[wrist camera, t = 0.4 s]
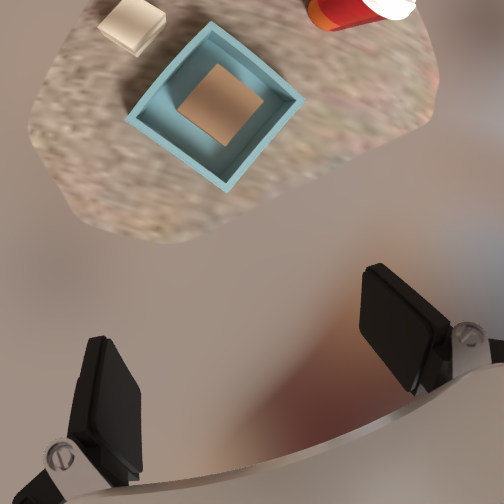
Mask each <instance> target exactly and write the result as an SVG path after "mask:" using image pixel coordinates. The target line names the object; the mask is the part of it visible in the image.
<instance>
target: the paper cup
mask: <svg viewBox="0 0 504 504" xmlns="http://www.w3.org/2000/svg"><path fill="white" fill-rule="evenodd" d="M415 1H416V0H311V1H310V3H309V5H308V15H309V17H310V19H311V21H312V22H313V23H314V24H315V25H316V26H317V27H319V28H320V29H322V30H325V31H338V30H343V29H347V28H351V27H355V26H359V25H363V24H367V23H371V22H376V21H380V20H385V19H392V20H400V19H403V18H406V17H407V16H408V15H409V14H410V13H411V11H413V9H414V8H415V6H416V4H415Z"/></svg>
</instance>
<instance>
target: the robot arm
mask: <svg viewBox="0 0 504 504" xmlns="http://www.w3.org/2000/svg"><path fill="white" fill-rule="evenodd" d="M359 329H360V332H361V334H362V335H363V337H364V338H365V339H366V340H367V342H368V343H369V344H370V345H371V347H372V348H373V349H374V351H375V352H376V353H377V354H378V356H379V357H380V358H381V359H382V361H383V362H384V363H385V364H386V366H387V367H388V368H389V370H390V371H391V372H392V373H393V375H394V376H395V377H396V379H397V380H398V381H399V382H400V384H401V385H402V386H403V388H404V389H405V390H406V391H407V392H409V391H410V392H411V393H412V394H413V395H414V396H415V397H416V396H417V395H419V394H421V393H423V392H424V391H427V392H428V394H426V395H425V396H423V397H421V398H419V399H417V400H415V401H413V402H412V403H410V404H408V405H406V406H404V407H403V408H400V409H398V410H397V411H395V412H393V413H391V414H389V415H387V416H384V417H382V418H380V419H378V420H376V421H374V422H372V423H370V424H368V425H366V426H363V427H361V428H358V429H356V430H354V431H352V432H349V433H347V434H345V435H342V436H339V437H337V438H334V439H332V440H329V441H327V442H324V443H321V444H319V445H316V446H313V447H310V448H308V449H305V450H302V451H299V452H296V453H293V454H290V455H286V456H283V457H280V458H277V459H273V460H270V461H266V462H263V463H259V464H255V465H251V466H248V467H244V468H239V469H235V470H231V471H226V472H221V473H217V474H211V475H206V476H201V477H195V478H189V479H182V480H175V481H169V482H161V483H153V484H143V485H133V486H129V482H128V481H139V473H140V472H142V470H143V463H142V440H141V439H142V438H141V392H140V389H139V387H138V385H137V383H136V381H135V380H134V378H133V377H132V375H131V373H130V372H129V370H128V368H127V367H126V365H125V363H124V361H123V360H122V358H121V356H120V354H119V353H118V351H117V349H116V347H115V345H114V344H113V341H112V340H111V339H107V338H106V337H105V336H98V337H93V338H90V339H89V340H88V343H87V347H86V351H85V356H84V359H83V364H82V368H81V373H80V377H79V378H78V380H77V384H76V389H75V393H74V398H73V404H72V409H71V414H70V420H69V426H68V433H67V438H58V439H55V440H54V441H52V442H51V443H50V444H49V445H48V446H47V447H46V449H45V451H44V454H43V464H44V466H45V469H44V470H43V471H42V472H41V473H39V475H37V476H36V477H35V478H34V479H33V480H32V481H31V482H30V483H28V485H26V486H25V487H24V488H23V489H22V490H21V491H20V492H18V493H17V495H16V496H15V497H14V499H13V502H12V504H504V341H503V340H495V339H488V336H487V333H486V331H485V330H484V328H482V327H481V326H480V325H478V324H476V323H474V322H468V321H466V322H460V323H458V324H456V325H455V326H454V328H453V327H452V326H450V321H449V320H448V319H447V318H446V317H444V316H443V315H442V314H441V313H440V312H439V311H438V310H437V309H435V308H434V307H433V306H432V305H431V304H430V303H429V302H427V301H426V300H425V299H424V298H423V297H422V296H421V295H419V294H418V293H417V292H416V291H415V290H413V289H412V288H411V287H410V286H409V285H408V284H407V283H405V282H404V281H403V280H402V279H401V278H399V277H398V276H397V275H396V274H395V273H393V272H392V271H391V270H390V269H388V268H387V267H386V266H385V265H384V264H382V263H378V264H375V265H371V266H369V267H367V268H366V270H365V272H363V275H362V293H361V308H360V321H359Z"/></svg>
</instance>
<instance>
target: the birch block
mask: <svg viewBox="0 0 504 504" xmlns="http://www.w3.org/2000/svg"><path fill="white" fill-rule="evenodd" d="M165 27H166V16H165V13H164V12H162V11H161V10H159V9H158V8H156V7H154V6H153V5H151V4H149V3H148V2H146V1H144V0H122V1H121V2H120V3H119V4H118V5H117V6H116V7H115V8H114V9H113V10H112V11H111V13H110V14H109V15H108V16H107V17H106V18H105V19H104V20H103V21H102V22H101V24H100V25H99V26H98V28H99V30H100V31H101V32H102V33H103V34H104V35H105V36H106V38H108V39H109V40H111V41H113V42H114V43H116V44H117V45H119V46H120V47H122V48H124V49H125V50H127V51H128V52H130V53H131V54H133V55H134V56H136V57H137V58H138V57H139V55H140V54H141V53H142V52H143V51H144V50H145V49H146V47H147V46H148V45H149V44H150V43H151V42H152V41H153V40H154V39H155V38H156V36H157V35H158V34H159V33H160V32H161V31H162V30H163V29H164V28H165Z"/></svg>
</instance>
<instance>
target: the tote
mask: <svg viewBox="0 0 504 504" xmlns="http://www.w3.org/2000/svg"><path fill="white" fill-rule="evenodd" d="M217 63H218V64H219V65H221V66H222V67H223V68H225V69H226V70H227V71H228V72H230V73H231V74H232V75H233V76H235V77H236V78H237V79H238V80H240V81H241V82H242V83H243V84H245V85H246V86H247V87H248V88H249V89H251V90H252V91H253V92H254V93H255V94H257V95H258V96H259V97H260V98H261V99H262V100H264V102H263V103H262V104H261V105H260V106H259V108H258V109H257V110H256V111H255V112H254V113H253V114H252V116H251V117H250V118H249V119H248V120H247V121H246V123H245V124H244V125H243V126H242V127H241V128H240V130H239V131H238V132H237V133H236V134H235V135H234V137H233V138H232V139H231V140H230V141H229V143H228V144H227V145H226V146H223V145H222V144H220V143H218V142H217V141H215V140H214V139H213V138H212V137H210V136H209V135H208V134H206V133H205V132H204V131H202V130H201V129H200V128H198V127H197V126H196V125H194V124H193V123H192V122H190V121H189V120H188V119H186V118H185V117H184V116H182V115H181V114H179V113H178V112H177V109H178V108H179V107H180V105H181V104H182V103H183V102H184V101H185V99H186V98H187V97H188V96H189V95H190V94H191V92H192V91H193V90H194V89H195V88H196V87H197V85H198V84H199V83H200V82H201V81H202V80H203V79H204V78H205V76H206V75H207V74H208V73H209V72H210V71H211V70H212V69H213V68H214V67H215V65H216V64H217ZM305 101H306V100H305V99H304V98H303V97H302V96H301V95H300V94H299V93H298V92H297V91H296V90H295V89H294V88H293V87H292V86H290V85H289V84H288V83H287V82H286V81H285V80H284V79H283V78H282V77H281V76H279V75H278V74H277V73H276V72H275V71H274V70H273V69H271V68H270V67H269V66H268V65H267V64H266V63H264V62H263V61H262V60H261V59H260V58H259V57H257V56H256V55H255V54H254V53H253V52H251V51H250V50H249V49H248V48H246V47H245V46H244V45H243V44H241V43H240V42H239V41H238V40H236V39H235V38H234V37H232V36H231V35H230V34H228V33H227V32H226V31H224V30H223V29H222V28H220V27H219V26H218V25H216V24H215V23H214V22H212V21H210V22H209V23H208V24H207V25H206V26H205V27H204V28H203V29H202V30H201V31H200V32H199V33H198V34H197V35H196V36H195V37H194V38H193V39H192V40H191V41H190V42H189V43H188V44H187V45H186V47H185V48H184V49H183V50H182V51H181V52H180V53H179V54H178V55H177V56H176V57H175V58H174V60H173V61H172V62H171V63H170V64H169V65H168V66H167V67H166V69H165V70H164V71H163V72H162V73H161V74H160V76H159V77H158V78H157V79H156V80H155V82H154V83H153V84H152V85H151V86H150V88H149V89H148V90H147V91H146V93H145V94H144V95H143V96H142V98H141V99H140V100H139V102H138V103H137V104H136V106H135V107H134V108H133V110H132V111H131V112H130V114H129V115H128V116H127V118H126V119H125V121H127V122H128V123H130V124H131V125H133V126H134V127H135V128H137V129H138V130H140V131H141V132H143V133H144V134H145V135H147V136H148V137H150V138H151V139H152V140H154V141H155V142H157V143H158V144H160V145H161V146H162V147H164V148H165V149H167V150H168V151H169V152H171V153H172V154H174V155H175V156H176V157H178V158H179V159H180V160H182V161H183V162H185V163H186V164H187V165H189V166H190V167H192V168H193V169H194V170H196V171H197V172H198V173H200V174H201V175H202V176H204V177H205V178H207V179H208V180H209V181H211V182H212V183H213V184H215V185H216V186H217V187H219V188H220V189H221V190H223V191H224V192H226V193H228V192H229V191H230V189H231V188H232V187H233V186H234V184H235V183H236V182H237V181H238V179H239V178H240V177H241V176H242V175H243V173H244V172H245V171H246V170H247V169H248V167H249V166H250V165H251V164H252V162H253V161H254V160H255V159H256V158H257V156H258V155H259V154H260V153H261V152H262V151H263V149H264V148H265V147H266V146H267V145H268V143H269V142H270V141H271V140H272V139H273V138H274V136H275V135H276V134H277V133H278V132H279V131H280V129H281V128H282V127H283V126H284V125H285V124H286V123H287V121H288V120H289V119H290V118H291V117H292V116H293V115H294V113H295V112H296V111H297V110H298V109H299V108H300V107H301V106H302V104H303V103H304V102H305Z"/></svg>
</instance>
